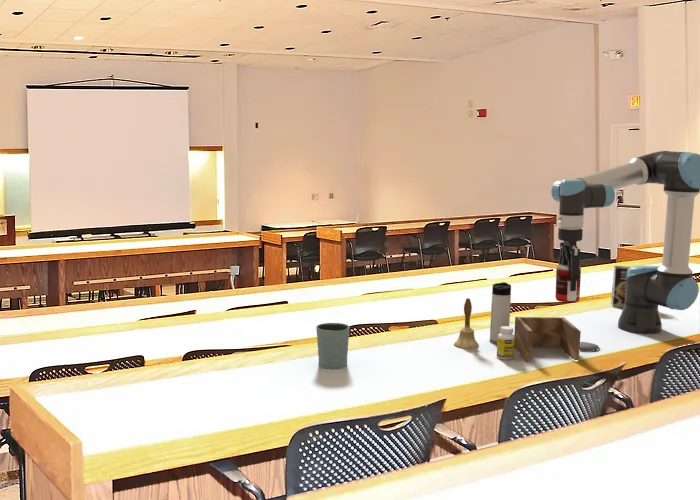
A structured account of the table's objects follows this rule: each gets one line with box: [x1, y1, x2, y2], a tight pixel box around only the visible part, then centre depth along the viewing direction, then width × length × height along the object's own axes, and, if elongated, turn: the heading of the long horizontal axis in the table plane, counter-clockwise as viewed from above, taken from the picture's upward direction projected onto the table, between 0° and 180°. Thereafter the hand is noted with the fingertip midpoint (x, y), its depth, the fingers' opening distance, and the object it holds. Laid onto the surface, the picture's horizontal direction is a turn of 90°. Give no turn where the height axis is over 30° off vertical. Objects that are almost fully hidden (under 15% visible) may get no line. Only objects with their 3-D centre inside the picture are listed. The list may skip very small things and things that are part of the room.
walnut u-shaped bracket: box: [513, 316, 582, 363], centre depth 280 cm, size 16×18×10 cm
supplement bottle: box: [496, 325, 515, 361], centre depth 274 cm, size 5×5×10 cm
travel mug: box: [489, 281, 512, 345], centre depth 292 cm, size 6×7×20 cm
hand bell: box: [453, 298, 480, 350], centre depth 287 cm, size 8×8×16 cm
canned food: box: [555, 264, 582, 303], centre depth 280 cm, size 8×8×11 cm
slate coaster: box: [579, 341, 600, 352], centre depth 289 cm, size 10×10×1 cm
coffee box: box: [610, 265, 631, 309], centre depth 352 cm, size 9×6×16 cm
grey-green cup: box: [316, 322, 351, 370], centre depth 262 cm, size 10×10×12 cm
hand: (567, 297), depth 281 cm, fingers closed on canned food, 8 cm apart
